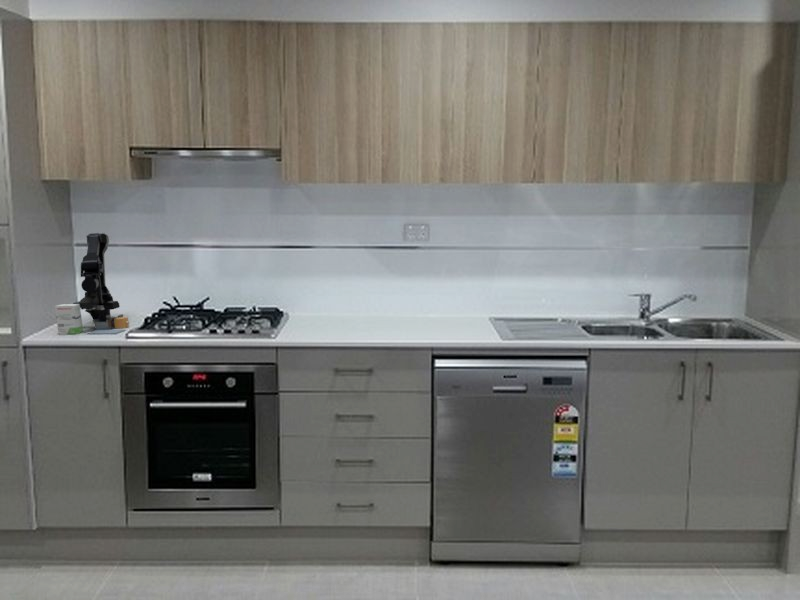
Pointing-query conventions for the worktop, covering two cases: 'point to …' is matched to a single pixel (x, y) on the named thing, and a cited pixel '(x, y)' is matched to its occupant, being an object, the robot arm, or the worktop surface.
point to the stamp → (120, 322)
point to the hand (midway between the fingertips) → (97, 325)
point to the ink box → (69, 319)
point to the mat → (105, 331)
